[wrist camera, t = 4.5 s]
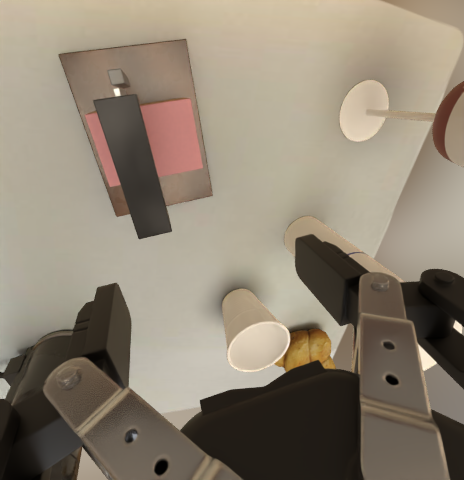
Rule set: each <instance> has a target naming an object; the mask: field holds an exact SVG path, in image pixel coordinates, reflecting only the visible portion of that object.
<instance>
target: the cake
mask: <svg viewBox="0 0 464 480" xmlns="http://www.w3.org/2000/svg"><path fill="white" fill-rule="evenodd" d="M140 108H141V112H142V115H143V119H144V123H145V127H146V131H147V135H148V138H149V142H150V146H151V150H152V154H153V158H154V161H155V165H156V169H157V173H158V177H162V176H167V175H172V174H177V173H182V172H187V171H192V170H197V169H202V168H203V164H202V159H201V153H200V148H199V142H198V137H197V131H196V125H195V120H194V114H193V109H192V103H191V99H190V98H177V99H171V100H164V101H158V102H151V103H145V104H140ZM85 118H86V121H87V123H88V126H89V129H90V132H91V135H92V138H93V141H94V143H95V146H96V149H97V152H98V155H99V158H100V160H101V163H102V166H103V169H104V172H105V175H106V178H107V180H108V183H109V186H110V187H113V186H118V185H121V184H120V181H119V178H118V175H117V172H116V169H115V166H114V163H113V160H112V157H111V154H110V151H109V148H108V145H107V142H106V139H105V136H104V133H103V130H102V127H101V124H100V121H99V118H98V114H97V111H94V112H91V113H88V114H85Z"/></svg>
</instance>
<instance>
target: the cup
mask: <svg viewBox="0 0 464 480" xmlns="http://www.w3.org/2000/svg"><path fill="white" fill-rule="evenodd" d="M222 311H223V319H224V327H225V334H226V343H227V360H228V362H229V364H230V365H231V366H232V367H233V368H235V369H236V370H239V371H242V372H255V371H259V370H262V369H265V368H267V367H269V366H271V365H273V364H274V363H276V362H277V361H278V360H279V359H280V358H281V357H282V356H283V355H284V354H285V352H286V351H287V349H288V347H289V344H290V333H289V331H288V329H287V328H286V327H285V326H284V325H283V324H281V323H280V322H279V321H278V320H277V319H276V318H275V317H274V316H273V315H272V314H271V312H269V310H268V309H267V308H266V307H265V306H264V305H263V304H262V303H261V302H260V301H259V299H258V298H257V297H256V296H255V295H254V294H253V293H252V292H251V291H249V290H247V289H237V290H234V291H232V292H230V293H229V294H228V295H227V296H226V297H225V298H224V300H223V302H222Z"/></svg>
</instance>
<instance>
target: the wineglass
mask: <svg viewBox="0 0 464 480" xmlns="http://www.w3.org/2000/svg"><path fill="white" fill-rule="evenodd" d="M388 107H389V99H388V94H387V91H386V89H385V87H384V86H383V85H382V84H381V83H380V82H377V81H375V80H365V81H363V82H360V83H358V84H357V85H356V86H354V87H353V88H352V89H351V90H350V91H349V93H348V94H347V96H346V97H345V99H344V101H343V103H342V106H341V109H340V117H339V121H340V128H341V130H342V132H343V134H344V135H345V136H346V137H347V138H348V139H349V140H352V141H355V142H359V141H365V140H367V139H369V138H371V137H372V136H373V135H374V134H376V133H377V132H378V130H379V129H380V128H381V126H382V125H383V123H384V121H385V119H386V117H388V118H399V119H410V120H421V121H432V122H433V129H432V130H433V131H432V132H433V133H432V134H433V141H434V144H435V147H436V149H437V150H438V152H439V153H440V154H441V155H442V156H443V157H444V158H446V159H448V160H450V161H451V162H453V163H455V164H457V165H459V166H461V167H464V81H463V82H462V83H460V84H458V85H457V86H456V87H455V88H453V89H452V91H450V93H449V94H448V95H447V96H446V97H445V98H444V100H443V101H442V103H441V104H440V106H439V108H438V110H437V113H436V114H435V113H419V112H404V111H388Z"/></svg>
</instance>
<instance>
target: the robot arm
mask: <svg viewBox="0 0 464 480" xmlns="http://www.w3.org/2000/svg"><path fill="white" fill-rule="evenodd" d="M295 267H296V272H297V274H298V276H299V278H300V279H301V280H302V282H303V283H304V284H305V285H306V286H307V287H308V289H309V290H310V291H311V292H312V293H313V294H314V296H315V297H316V298H317V299H318V300H319V302H320V303H321V304H322V305H323V306H324V307H325V309H326V310H327V311H328V312H329V313H330V314H331V316H332V317H333V318H334V319H335V320H336V321H337V323H338V324H339V325H340V326H343V325H346V324H349V323H351V324H352V325H353V326H354V329H353V349H352V372H350V371H346V370H341V369H330V368H327V369H325V368H324V367H323V365H322V364H321V362H320V361H319V360H316V361H313V362H310V363H307V364H304V365H301V366H298V367H296V368H293V369H290V370H289V371H287V372H286V373H284V374H283V375H282V376H280V377H279V378H277V379H276V380H274V381H273V382H271V383H270V384H268V385H266V386H264V387H256V388H245V389H233V390H228V391H226V392H223V393H220V394H217V395H214V396H211V397H208V398H205V399H202V400H200V404H201V410H202V411H201V412H199V413H198V414H196V415H195V416H194V417H193V418H192V419H191V420H189V421H188V422H187V423H186V425H185V426H184V427H183V428H182V429H181V430H180V431H179V430H178V429H177V428H176V427H175V426H174V425H172V424H171V423H170V422H169V421H168V420H167V419H165V418H164V417H163V416H162V415H161V414H160V413H159V412H157V411H156V410H155V409H154V408H153V407H152V406H150V405H149V404H148V403H147V402H146V401H145V400H143V399H142V398H141V397H140V396H139V395H138V394H136V393H135V392H134V391H133V390H132V389H130V388H129V387H128V386H129V365H130V344H131V317H130V313H129V310H128V307H127V305H126V302H125V300H124V297H123V295H122V292H121V290H120V287H119V285H118V284H117V283H113V284H109V285H105V286H101V287H98V288H97V290H96V294H95V299H94V301H91V302H88V303H86V304H85V305H84V306H83V308H82V309H81V310H80V311H79V313H78V316H77V319H76V322H75V323H76V325H75V326H74V329H73V331H68V330H67V331H58V332H54V333H51V334H48V335H46V336H44V337H43V338H41V339H40V340H39V341H38V342H37V343H36V345H35V346H33V347H30V348H28V349H27V352H26V354H25V355H22V356H18V357H15V358H11V360H10V362H9V364H8V366H7V368H6V370H5V372H4V373H2V372H0V378H4V379H5V380H6V381H7V383H8V384H9V385H10V386H11V387H10V389H9V392H8V394H7V396H6V398H5V399H0V480H77V475H78V469H79V463H80V457H81V451H82V447H83V448H84V450H85V451H86V452H87V453H88V455H89V456H90V457H91V458H92V460H93V461H94V462H95V464H96V465H97V466H98V467H99V469H100V470H101V471H102V473H103V474H104V475H105V476H106V478H107V479H108V480H464V425H463V424H461V423H459V422H457V421H455V420H453V419H451V418H449V417H446V416H444V415H442V414H440V413H438V412H436V411H434V410H432V409H431V408H430V403H429V398H428V393H427V388H426V383H425V378H424V373H423V368H422V362H421V357H420V352H419V347H418V344H419V345H420V346H421V347H422V348H423V349H424V350H425V351H426V352H427V353H428V354H429V355H430V356H431V357H432V358H433V359H434V360H435V361H436V362H437V363H438V364H439V365H440V366H441V367H442V368H443V369H444V370H445V371H446V372H447V373H448V374H449V375H450V376H451V377H452V378H453V379H454V380H455V381H456V382H457V383H458V384H459V385H460V386H461V387H462V388H463V389H464V336H463V335H462V334H461V333H460V332H458V331H457V330H456V329H455V328H453V326H454V324H455V321H457V322H458V323H459V324H461V325H462V326H463V327H464V278H463V277H461V276H459V275H458V274H456V273H453V272H450V271H447V270H442V269H429V270H426V271H424V272H423V273H422V274H421V278H420V281H419V282H399V281H398V280H397V279H396V278H394V277H393V276H391V275H388V274H385V273H380V272H369V271H368V270H367V269H365V268H364V267H363V266H362V265H360V264H359V263H358V262H356V261H355V260H354V259H353V258H351V257H349V255H347V254H346V253H345V252H343V251H342V250H341V249H340V248H339V247H337V246H336V245H334V244H331V243H328V242H326V241H324V242H322V241H321V240H320V239H318V238H317V237H316V236H315V235H313V234H309V235H305V236H301V237H297V238H296V240H295Z"/></svg>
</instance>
